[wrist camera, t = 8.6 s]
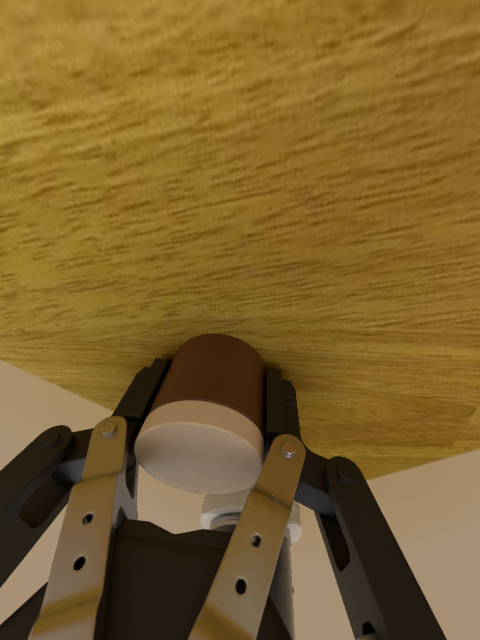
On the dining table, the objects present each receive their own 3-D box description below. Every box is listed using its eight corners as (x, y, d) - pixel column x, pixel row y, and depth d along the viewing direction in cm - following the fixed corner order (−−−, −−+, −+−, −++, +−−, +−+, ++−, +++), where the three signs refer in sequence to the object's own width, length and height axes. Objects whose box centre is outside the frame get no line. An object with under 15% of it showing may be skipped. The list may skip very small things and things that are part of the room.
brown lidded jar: (261, 405, 15) (258, 501, 11) (179, 397, 15) (145, 487, 11) (270, 338, 12) (270, 432, 8) (169, 329, 13) (119, 416, 8)
